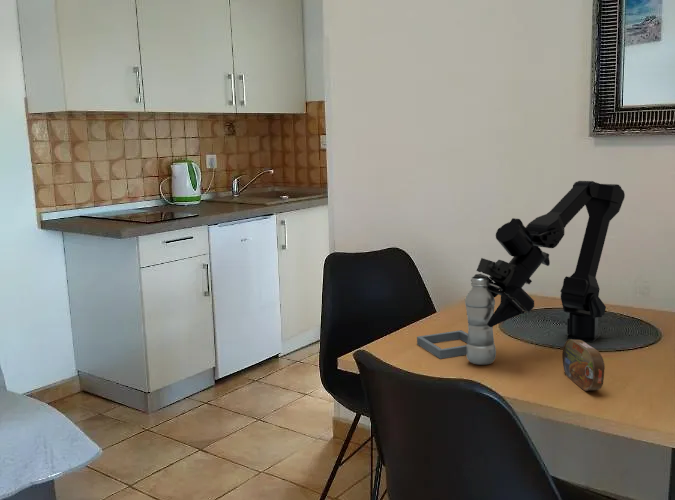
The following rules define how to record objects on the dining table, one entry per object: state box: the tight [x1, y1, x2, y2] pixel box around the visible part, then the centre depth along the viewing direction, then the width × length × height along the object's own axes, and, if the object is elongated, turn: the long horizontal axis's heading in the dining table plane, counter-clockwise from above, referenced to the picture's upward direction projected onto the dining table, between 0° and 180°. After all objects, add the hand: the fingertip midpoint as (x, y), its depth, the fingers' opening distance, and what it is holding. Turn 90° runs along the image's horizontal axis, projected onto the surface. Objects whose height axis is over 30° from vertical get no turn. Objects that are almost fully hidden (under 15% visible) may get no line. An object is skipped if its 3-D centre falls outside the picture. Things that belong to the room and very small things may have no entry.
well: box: [416, 329, 468, 360], centre depth 165 cm, size 12×12×2 cm
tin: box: [561, 338, 606, 392], centre depth 138 cm, size 15×3×8 cm, turn 4°
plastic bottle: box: [464, 275, 497, 366], centre depth 151 cm, size 6×7×20 cm
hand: (478, 320), depth 151 cm, fingers open, 9 cm apart
